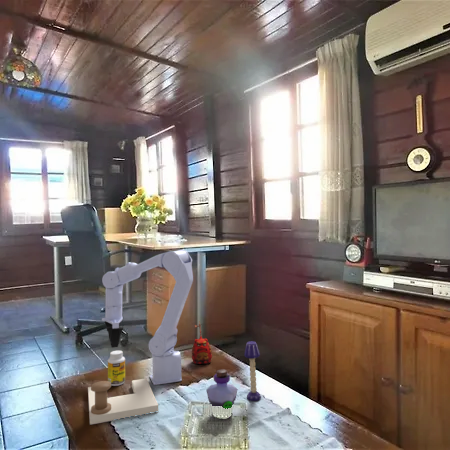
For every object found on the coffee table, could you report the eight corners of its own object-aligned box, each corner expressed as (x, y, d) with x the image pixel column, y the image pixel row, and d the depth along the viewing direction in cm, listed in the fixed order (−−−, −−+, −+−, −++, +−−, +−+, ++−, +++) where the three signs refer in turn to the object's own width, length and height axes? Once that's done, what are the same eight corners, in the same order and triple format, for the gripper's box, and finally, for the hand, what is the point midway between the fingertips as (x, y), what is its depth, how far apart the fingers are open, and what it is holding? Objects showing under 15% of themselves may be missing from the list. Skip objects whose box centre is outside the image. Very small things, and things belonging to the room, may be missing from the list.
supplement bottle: (110, 388, 123) (110, 356, 123) (105, 382, 128) (105, 351, 128) (127, 384, 126) (127, 352, 126) (122, 378, 131) (121, 348, 131)
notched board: (146, 384, 125) (146, 357, 126) (158, 412, 107) (158, 380, 107) (88, 393, 119) (87, 365, 119) (89, 424, 100) (89, 391, 100)
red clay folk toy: (193, 366, 142) (192, 325, 142) (190, 359, 148) (190, 321, 148) (213, 364, 143) (213, 324, 143) (209, 358, 150) (209, 319, 150)
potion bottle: (222, 426, 99) (222, 379, 99) (199, 415, 105) (199, 371, 105) (244, 414, 105) (243, 370, 105) (221, 404, 111) (221, 362, 111)
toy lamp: (249, 403, 112) (249, 345, 112) (241, 396, 116) (241, 341, 116) (263, 399, 114) (263, 343, 114) (255, 393, 118) (254, 339, 118)
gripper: (100, 301, 141) (100, 338, 141) (103, 310, 127) (103, 351, 127) (120, 300, 143) (120, 337, 143) (125, 308, 130) (124, 349, 130)
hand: (113, 343), depth 135 cm, fingers open, 7 cm apart
